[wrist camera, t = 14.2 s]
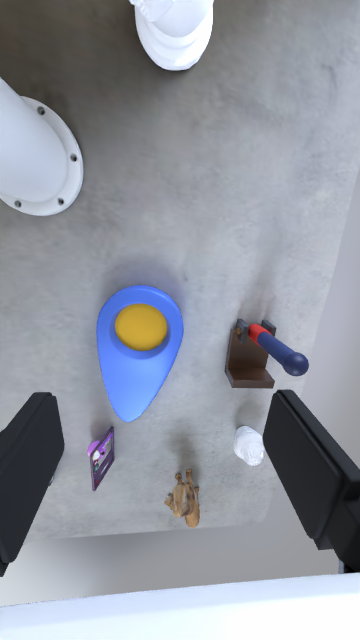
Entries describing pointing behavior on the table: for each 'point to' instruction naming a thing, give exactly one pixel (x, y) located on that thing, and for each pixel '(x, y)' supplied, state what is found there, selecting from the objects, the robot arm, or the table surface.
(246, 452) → the muffin
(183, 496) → the lion figurine
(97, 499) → the table surface
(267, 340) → the blue lever handle
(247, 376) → the brown lever base
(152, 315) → the location marker
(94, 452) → the purple toy package
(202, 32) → the cherub figurine
